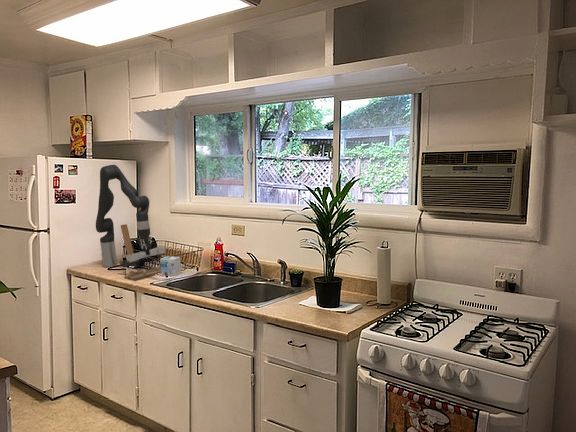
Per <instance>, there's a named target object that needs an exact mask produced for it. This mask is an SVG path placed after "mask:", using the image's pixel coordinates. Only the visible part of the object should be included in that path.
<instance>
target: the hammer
mask: <svg viewBox="0 0 576 432" xmlns="http://www.w3.org/2000/svg"><path fill="white" fill-rule="evenodd" d="M120 229H121V234H122V238H123V241H124V246H125V251H126V255H129V254H133V253H134V248H133V245H132V241H131V236H130V232H129V228H128V224H127V223H126V224H121V225H120ZM119 264H120V265H121V267H122V268H124V267H127V266H135V267H139V268H142V267H145V265H146V262H145V261H144V260H141V259H139V260H135V261H132V262H131V261H127V259H124V260H121V261H119Z"/></svg>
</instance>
